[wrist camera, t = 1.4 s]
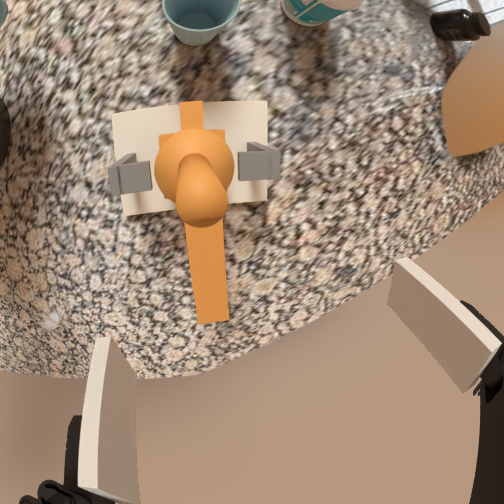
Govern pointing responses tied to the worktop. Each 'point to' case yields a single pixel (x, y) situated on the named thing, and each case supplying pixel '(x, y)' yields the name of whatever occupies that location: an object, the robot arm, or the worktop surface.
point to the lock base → (168, 121)
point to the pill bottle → (316, 10)
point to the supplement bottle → (460, 25)
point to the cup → (199, 18)
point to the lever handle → (199, 202)
